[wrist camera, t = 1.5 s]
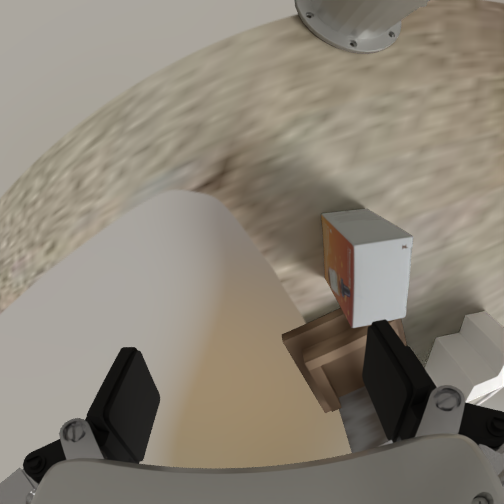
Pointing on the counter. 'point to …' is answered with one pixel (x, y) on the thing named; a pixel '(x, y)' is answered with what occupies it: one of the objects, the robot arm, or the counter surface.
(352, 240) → the small box
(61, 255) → the counter surface
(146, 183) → the counter surface
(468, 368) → the corner bracket
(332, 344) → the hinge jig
